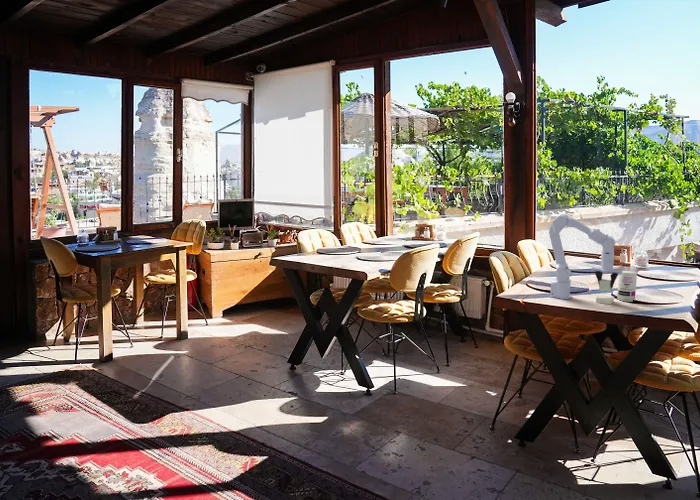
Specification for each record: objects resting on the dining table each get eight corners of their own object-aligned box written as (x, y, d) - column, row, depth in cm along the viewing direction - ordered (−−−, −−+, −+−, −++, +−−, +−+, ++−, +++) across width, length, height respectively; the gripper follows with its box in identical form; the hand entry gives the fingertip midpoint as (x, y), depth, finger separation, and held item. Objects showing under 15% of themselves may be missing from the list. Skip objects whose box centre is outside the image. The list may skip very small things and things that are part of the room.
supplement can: (629, 298, 303) (631, 270, 300) (637, 302, 295) (639, 273, 292) (614, 298, 303) (616, 270, 300) (622, 302, 294) (624, 273, 292)
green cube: (598, 290, 294) (599, 280, 293) (601, 288, 298) (602, 279, 297) (609, 291, 291) (609, 281, 290) (612, 289, 295) (612, 280, 294)
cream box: (595, 303, 295) (596, 297, 294) (599, 300, 300) (599, 294, 300) (610, 305, 291) (610, 299, 290) (613, 302, 296) (614, 296, 296)
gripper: (590, 260, 293) (588, 286, 296) (620, 263, 284) (618, 290, 287) (594, 258, 299) (593, 283, 301) (624, 261, 290) (622, 287, 292)
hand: (605, 286), depth 294 cm, fingers closed on green cube, 5 cm apart
